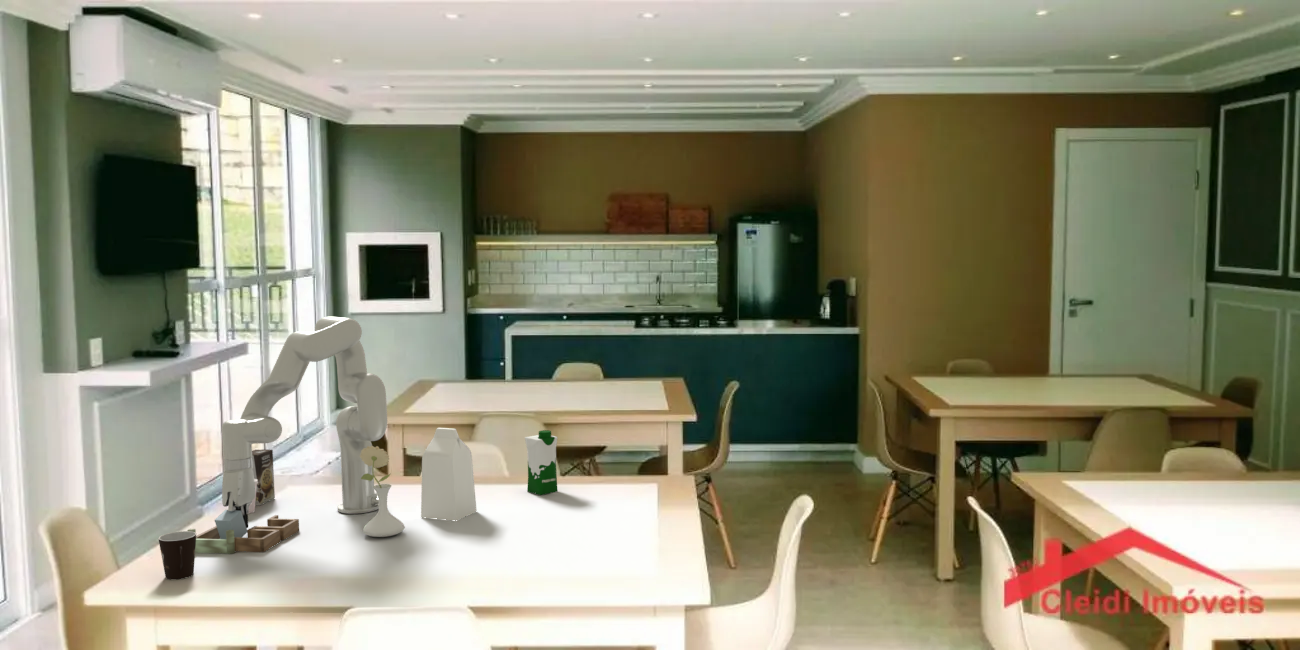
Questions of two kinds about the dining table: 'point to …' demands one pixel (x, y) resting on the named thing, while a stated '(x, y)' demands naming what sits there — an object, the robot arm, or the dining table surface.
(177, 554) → the coffee mug
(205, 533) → the brown open tray piece
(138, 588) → the dining table surface
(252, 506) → the smoothie
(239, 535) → the block
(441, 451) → the milk
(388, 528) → the flower in vase
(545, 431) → the milk carton
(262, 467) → the coffee box
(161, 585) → the dining table surface
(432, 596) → the dining table surface
